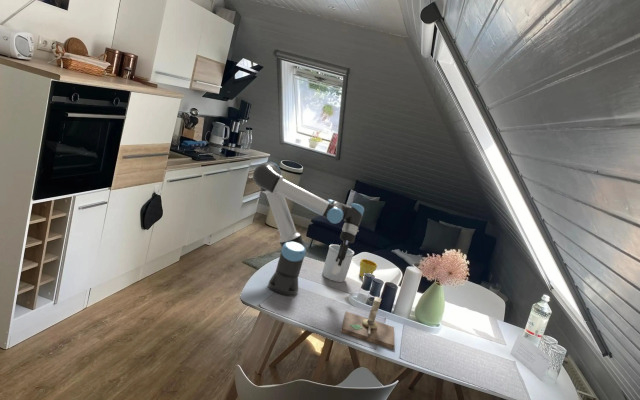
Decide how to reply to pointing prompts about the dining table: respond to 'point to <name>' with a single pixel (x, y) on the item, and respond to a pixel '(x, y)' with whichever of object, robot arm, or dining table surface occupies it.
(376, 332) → the plate
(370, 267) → the plant pot
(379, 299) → the peg
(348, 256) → the utensil holder
